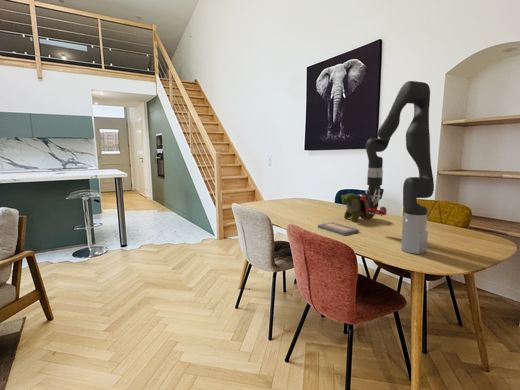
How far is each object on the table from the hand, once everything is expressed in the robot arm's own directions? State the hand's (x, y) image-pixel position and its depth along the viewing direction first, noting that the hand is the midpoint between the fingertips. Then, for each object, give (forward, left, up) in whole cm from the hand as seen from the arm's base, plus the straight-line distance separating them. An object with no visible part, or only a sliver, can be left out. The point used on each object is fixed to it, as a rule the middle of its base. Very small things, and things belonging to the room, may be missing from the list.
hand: (373, 207), depth 154 cm
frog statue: (+25, -18, -14) cm, 34 cm away
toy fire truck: (0, 0, -4) cm, 4 cm away
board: (+15, +11, -14) cm, 23 cm away
